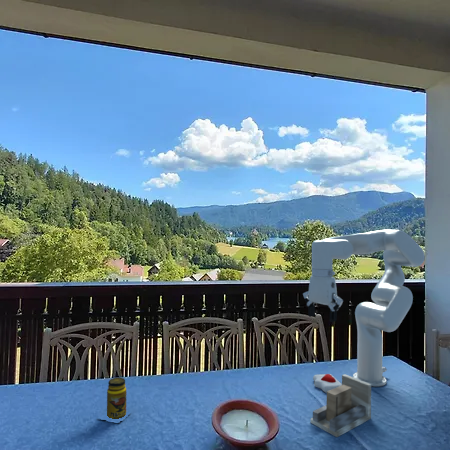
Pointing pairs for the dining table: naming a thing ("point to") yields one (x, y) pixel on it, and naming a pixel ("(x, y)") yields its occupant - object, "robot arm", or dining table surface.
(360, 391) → the track
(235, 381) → the dining table surface
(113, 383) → the condiment
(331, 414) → the door
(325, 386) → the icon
